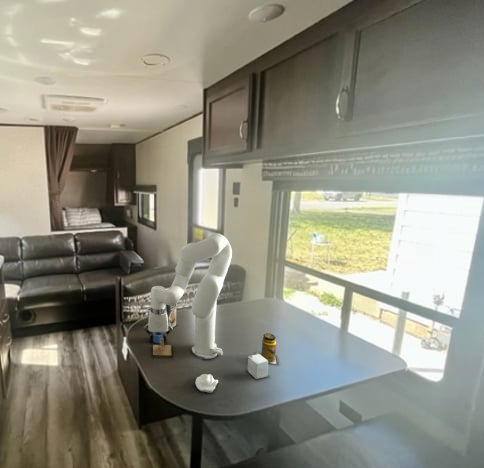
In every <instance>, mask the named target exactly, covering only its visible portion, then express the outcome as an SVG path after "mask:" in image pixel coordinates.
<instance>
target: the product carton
mask: <svg viewBox="0 0 484 468" xmlns="http://www.w3.org/2000/svg"><path fill="white" fill-rule="evenodd" d="M247 372H248V373H249V374H250V375H252V377H253V378H254V379H256V380H258V379H263V378H266V377H268V376H269V363H268V361H267V360H266V359H265V358H264V357H263V356H261V355H260V354H256V353H255V354H252V355H248V356H247Z"/></svg>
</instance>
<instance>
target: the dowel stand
mask: <svg viewBox="0 0 484 468" xmlns="http://www.w3.org/2000/svg"><path fill="white" fill-rule="evenodd" d="M152 355H153V356H172V345H171V344H165V342H164V339H163V338H161V339H160V343H159V344H153V345H152Z"/></svg>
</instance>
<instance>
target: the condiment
mask: <svg viewBox="0 0 484 468" xmlns="http://www.w3.org/2000/svg"><path fill="white" fill-rule="evenodd" d="M276 340H277V338H276V335H274V334H273V333H268V332H267V333H264V334H263V337H262V341H261V352H255V355H256V354H260V355H261V356H263V357H264V358H265V359H266V360H267V361H268V364H273V365H277V359H276V353H277V352H276V351H277V341H276Z"/></svg>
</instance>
